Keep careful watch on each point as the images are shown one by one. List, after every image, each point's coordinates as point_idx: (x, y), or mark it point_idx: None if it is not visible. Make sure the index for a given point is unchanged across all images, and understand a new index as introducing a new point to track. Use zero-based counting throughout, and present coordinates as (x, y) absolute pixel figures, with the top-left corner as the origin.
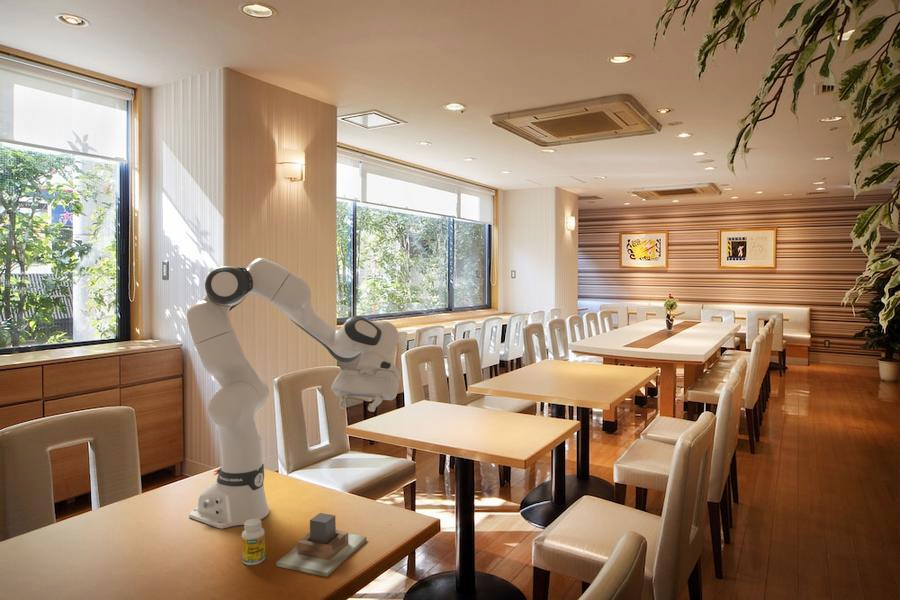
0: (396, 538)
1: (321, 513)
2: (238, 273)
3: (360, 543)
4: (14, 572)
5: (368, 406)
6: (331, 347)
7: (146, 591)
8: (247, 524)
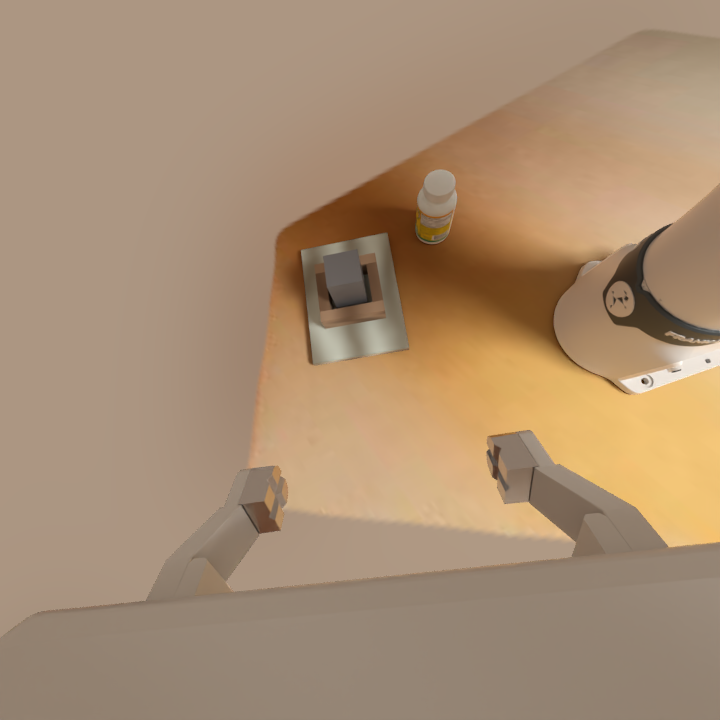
0: (272, 398)
1: (357, 279)
2: None
3: (311, 343)
4: (706, 42)
5: (269, 475)
6: None
7: (488, 116)
8: (439, 171)
